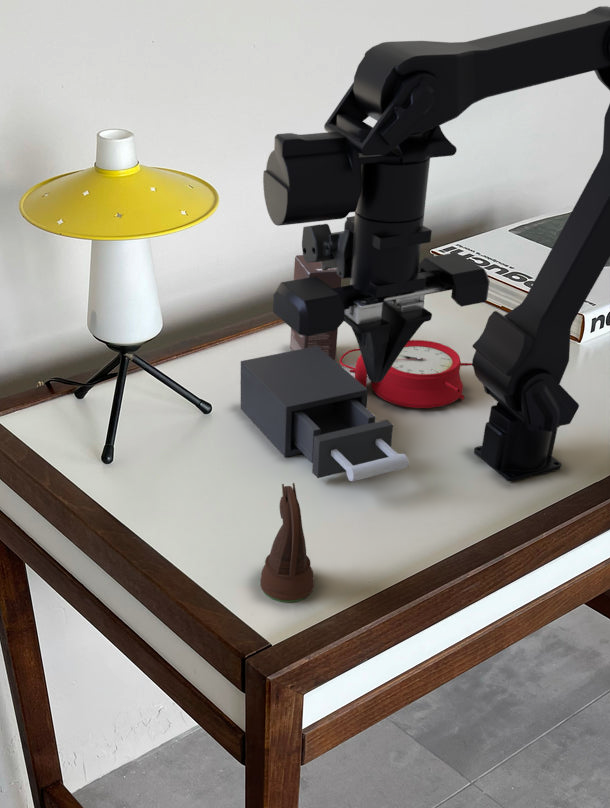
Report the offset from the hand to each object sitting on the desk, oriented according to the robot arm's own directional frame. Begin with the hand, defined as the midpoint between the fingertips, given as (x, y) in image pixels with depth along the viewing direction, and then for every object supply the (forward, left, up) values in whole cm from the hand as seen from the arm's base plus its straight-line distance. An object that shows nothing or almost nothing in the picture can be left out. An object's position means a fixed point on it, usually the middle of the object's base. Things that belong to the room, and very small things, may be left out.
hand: (374, 380), depth 93 cm
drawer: (0, -5, -11) cm, 12 cm away
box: (-9, -28, -12) cm, 32 cm away
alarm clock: (-15, -17, -12) cm, 26 cm away
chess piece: (+14, +11, -12) cm, 21 cm away
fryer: (0, -14, -12) cm, 19 cm away
